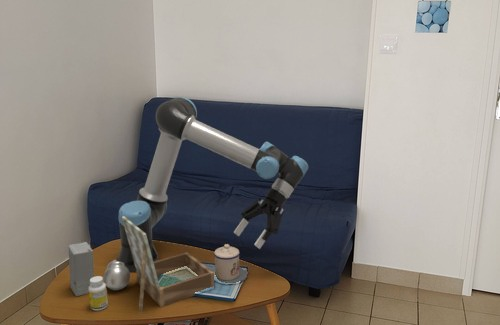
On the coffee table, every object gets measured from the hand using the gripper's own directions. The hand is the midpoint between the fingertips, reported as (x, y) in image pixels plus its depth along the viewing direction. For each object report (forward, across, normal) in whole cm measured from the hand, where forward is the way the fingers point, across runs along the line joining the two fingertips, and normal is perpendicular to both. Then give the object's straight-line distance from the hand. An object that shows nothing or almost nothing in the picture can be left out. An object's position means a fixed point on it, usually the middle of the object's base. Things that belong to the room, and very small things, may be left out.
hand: (246, 240), depth 168 cm
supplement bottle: (+46, +8, +28) cm, 54 cm away
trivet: (+14, 0, -4) cm, 14 cm away
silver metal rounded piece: (+39, +16, +21) cm, 47 cm away
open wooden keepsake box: (+30, +6, +11) cm, 33 cm away
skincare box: (+46, +22, +29) cm, 59 cm away
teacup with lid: (+13, +1, -3) cm, 14 cm away
